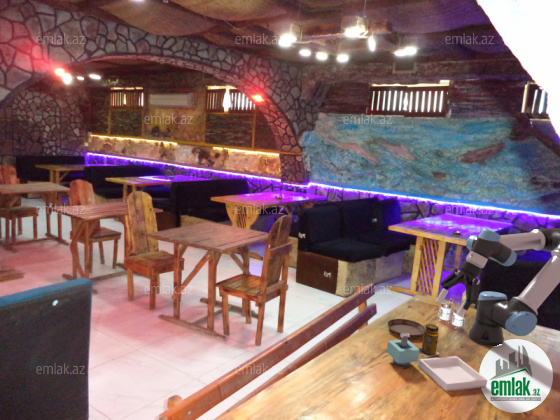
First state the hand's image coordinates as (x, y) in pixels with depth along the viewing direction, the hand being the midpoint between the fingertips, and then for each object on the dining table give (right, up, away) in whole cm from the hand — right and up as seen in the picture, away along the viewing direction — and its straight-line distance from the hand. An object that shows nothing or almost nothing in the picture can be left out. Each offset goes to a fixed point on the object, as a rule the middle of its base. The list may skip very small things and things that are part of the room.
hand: (448, 309), depth 184 cm
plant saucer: (-10, -18, +29) cm, 35 cm away
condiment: (-6, -21, +9) cm, 24 cm away
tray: (-2, -24, -9) cm, 26 cm away
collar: (-20, -19, -3) cm, 28 cm away
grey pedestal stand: (-20, -22, -2) cm, 30 cm away
